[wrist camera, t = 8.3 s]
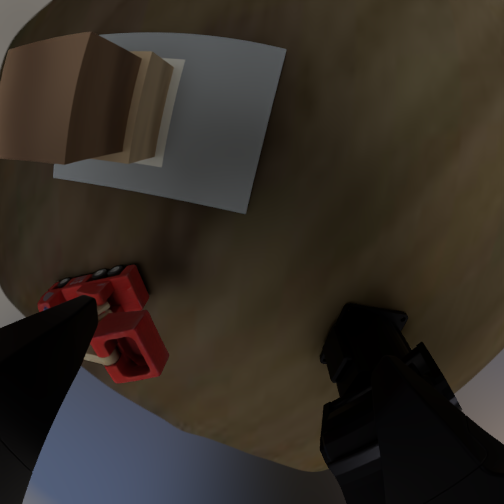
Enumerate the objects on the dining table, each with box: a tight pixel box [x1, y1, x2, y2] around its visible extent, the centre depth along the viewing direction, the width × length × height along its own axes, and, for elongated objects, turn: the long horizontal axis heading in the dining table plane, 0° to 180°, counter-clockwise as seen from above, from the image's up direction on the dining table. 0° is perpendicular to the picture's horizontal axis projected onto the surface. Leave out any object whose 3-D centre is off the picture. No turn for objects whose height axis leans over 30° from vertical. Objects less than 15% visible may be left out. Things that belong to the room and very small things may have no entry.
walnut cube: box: [0, 32, 142, 165], centre depth 9 cm, size 5×5×5 cm
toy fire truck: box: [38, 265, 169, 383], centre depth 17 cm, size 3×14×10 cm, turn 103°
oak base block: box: [91, 51, 174, 164], centre depth 13 cm, size 6×6×4 cm
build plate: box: [53, 33, 287, 214], centre depth 16 cm, size 15×11×1 cm
